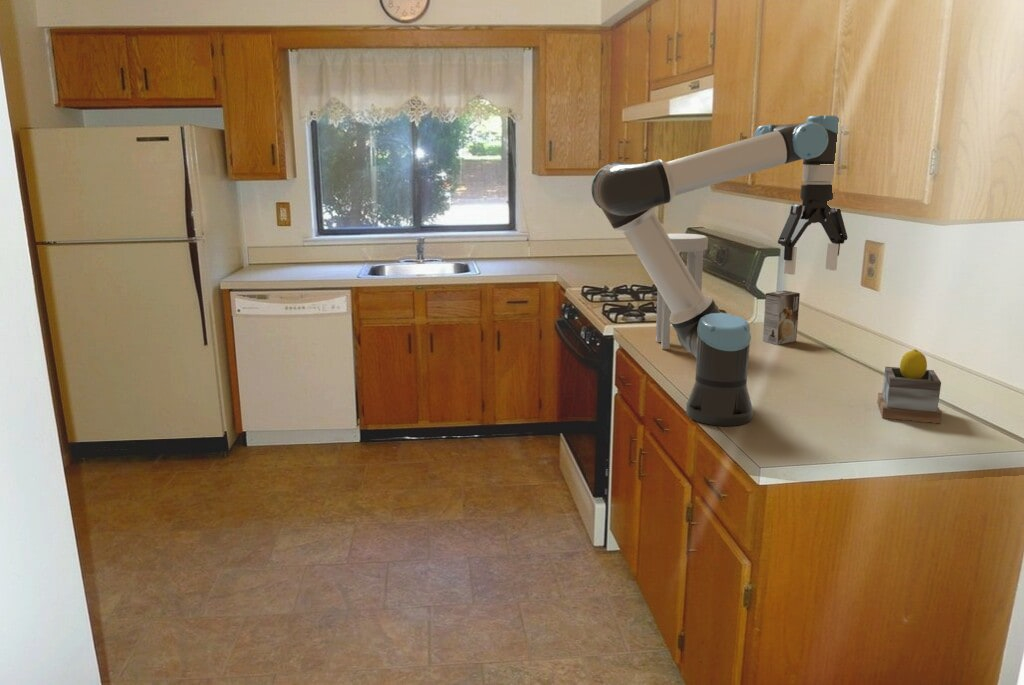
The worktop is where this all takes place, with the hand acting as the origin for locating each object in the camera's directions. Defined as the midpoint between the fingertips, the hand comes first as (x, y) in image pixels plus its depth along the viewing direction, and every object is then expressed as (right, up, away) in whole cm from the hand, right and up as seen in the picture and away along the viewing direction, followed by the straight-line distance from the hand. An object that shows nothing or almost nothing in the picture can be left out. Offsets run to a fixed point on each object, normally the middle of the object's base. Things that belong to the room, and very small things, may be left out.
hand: (810, 271), depth 185 cm
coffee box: (+14, -17, +62) cm, 66 cm away
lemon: (+21, -27, -7) cm, 35 cm away
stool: (-20, -18, +58) cm, 64 cm away
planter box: (+21, -34, -6) cm, 40 cm away
